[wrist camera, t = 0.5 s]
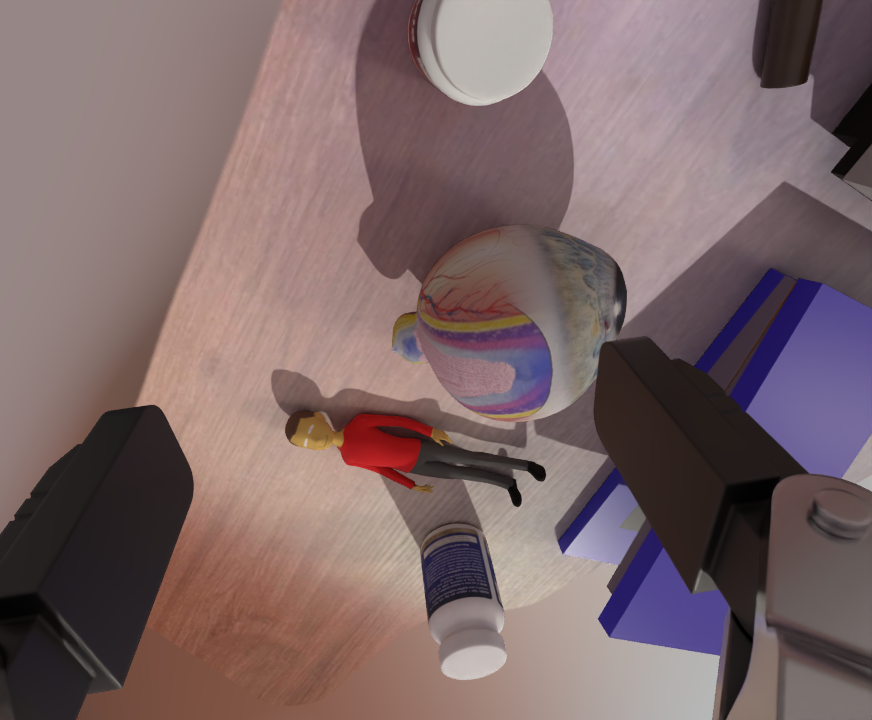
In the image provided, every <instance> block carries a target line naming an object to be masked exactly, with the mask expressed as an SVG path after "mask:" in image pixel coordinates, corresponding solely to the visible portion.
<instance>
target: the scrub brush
mask: <svg viewBox="0 0 872 720" xmlns="http://www.w3.org/2000/svg"><path fill="white" fill-rule="evenodd" d="M822 5H823V0H773V5H772V12H771V18H770V25H769V32H768V38H767V45H766V51H765V58H764V64H763V71H762V77H761V84H760V86H761V87H762V88H785V87H792V86H797V85H801V84H804V83H806V82H807V80H808V76H809V71H810V65H811V60H812V55H813V50H814V45H815V40H816V35H817V30H818V25H819V20H820V15H821V10H822Z"/></svg>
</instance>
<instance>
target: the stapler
mask: <svg viewBox="0 0 872 720" xmlns="http://www.w3.org/2000/svg"><path fill="white" fill-rule="evenodd" d="M694 367H696V368H698V369H700V370H702V371H704V372H705V373H707V374H708V375H709V376H710V377H711V378H712V379H713V380H714V381H715V382H716V383H717V384H718V385H719V386H720V387H721V388H722V389H723V390H724V391H725V392H726V396H731V397H732V398H733V399H734V400H735V401H736V402H737V403H738V404H739V405H740V406H741V407H742V411H743V412H747V413H748V414H749V415H750V416H751V417H752V418H753V419H754V420H755V421H756V422H757V423H758V424H759V425H760V426H761V427H762V428H763V429H764V430H765V431H766V432H767V433H768V434H769V435H771V436H772V437H773V438H774V439H775V440H776V441H777V442H778V443H779V444H780V445H781V446H782V447H783V448H784V449H785V450H786V451H787V452H788V453H789V454H790V455H791V456H792V457H793V458H794V459H795V460H796V461H797V462H798V463H799V464H800V465H801V466H802V467H803V468H804V469H805V470H806V471H807V472H808V473H809V474H821V475H828V476H833V477H837V478H840V479H841V478H842V477H843V475H844V474H845V472H846V471H847V469H848V468H849V466H850V465H851V463H852V462H853V461H854V459H855V458H856V456H857V455H858V453H859V452H860V450H861V449H862V447H863V446H864V444H865V443H866V441H867V440H868V438H869V437H870V435H871V434H872V309H871V308H870V307H868V306H866V305H864V304H862V303H860V302H858V301H856V300H854V299H852V298H850V297H848V296H846V295H844V294H842V293H841V292H839V291H837V290H835V289H833V288H831V287H829V286H827V285H825V284H823V283H819V282H814V281H809V280H804V279H800V278H799V279H798V280H796V279H794V278H791V277H789V276H787V275H785V274H783V273H781V272H778V271H776V270H774V269H772V268H770V270H769V271H768V272H767V274H766V275H765V276H764V277H763V279H762V280H761V281H760V283H759V284H758V285H757V286H756V288H755V289H754V290H753V292H752V293H751V294H750V295H749V297H748V298H747V299H746V301H745V302H744V303H743V304H742V306H741V307H740V308H739V310H738V311H737V312H736V313H735V315H734V316H733V317H732V319H731V320H730V321H729V322H728V324H727V325H726V326H725V328H724V329H723V330H722V331H721V333H720V334H719V335H718V337H717V338H716V339H715V340H714V342H713V343H712V344H711V346H710V347H709V348H708V349H707V351H706V352H705V353H704V355H703V356H702V357H701V358H700V360H699V361H698V362H697V364H696V365H695V366H694ZM558 544H559V546H560V549H561V551H562V554H563V555H569V556H574V557H579V558H584V559H590V560H595V561H600V562H605V563H611V564H616V565H619V566H618V568H617V569H616V571H615V573H614V575H613V576H612V578H611V580H610V581H609V583H608V585H607V587H608V589H609V590H610V592H611V593H612V596H611V598H610V600H609V601H608V603H607V604H606V606H605V608H604V610H603V611H602V613H601V615H600V616H599V618H598V620H599V622H600V623H601V625H602V626H603V628H604V630H605V631H606V633H607V634H608V636H609V637H610V638H616V639H622V640H628V641H634V642H640V643H646V644H652V645H659V646H665V647H671V648H677V649H683V650H689V651H695V652H701V653H707V654H714V655H719V656H720V652H721V644H722V636H723V628H724V619H725V615H726V611H727V608H728V606H729V605H728V603H727V602H726V600H725V598H724V597H723V595H722V594H721V592H720V591H719V590H714V591H708V592H702V593H696V594H691V593H690V591H689V590H688V588H687V586H686V584H685V583H684V581H683V579H682V578H681V576H680V574H679V573H678V571H677V569H676V568H675V566H674V564H673V562H672V561H671V559H670V557H669V556H668V554H667V552H666V551H665V549H664V547H663V545H662V544H661V542H660V540H659V539H658V537H657V535H656V534H655V532H654V530H653V529H652V527H651V525H650V523H649V522H648V520H647V518H646V517H645V515H644V513H643V512H642V510H641V508H640V506H639V505H638V503H637V501H636V500H635V498H634V496H633V495H632V493H631V491H630V490H629V488H628V486H627V484H626V483H625V481H624V479H623V478H622V476H621V474H620V473H619V471H618V469H617V467H616V468H615V469H614V470H613V472H612V473H611V474H610V475H609V477H608V478H607V479H606V481H605V482H604V483H603V484H602V486H601V487H600V488H599V490H598V491H597V492H596V493H595V495H594V496H593V497H592V499H591V500H590V501H589V503H588V504H587V505H586V506H585V508H584V509H583V510H582V512H581V513H580V514H579V515H578V517H577V518H576V519H575V521H574V522H573V523H572V524H571V526H570V527H569V528H568V530H567V531H566V532H565V533H564V535H563V536H562V537H561V539H560V540H559V541H558Z"/></svg>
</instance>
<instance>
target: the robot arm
mask: <svg viewBox="0 0 872 720" xmlns="http://www.w3.org/2000/svg"><path fill="white" fill-rule="evenodd" d="M594 420H595V426H596V430H597V433H598V436H599V438H600V440H601V442H602V444H603V445H604V447H605V449H606V450H607V452H608V454H609V456H610V457H611V459H612V461H613V462H614V464H615V466H616V467H617V469H618V471H619V473H620V474H621V476H622V478H623V479H624V481H625V483H626V484H627V486H628V488H629V490H630V491H631V493H632V495H633V496H634V498H635V500H636V501H637V503H638V505H639V506H640V508H641V510H642V512H643V513H644V515H645V517H646V518H647V520H648V522H649V523H650V525H651V527H652V529H653V530H654V532H655V534H656V535H657V537H658V539H659V540H660V542H661V544H662V545H663V547H664V549H665V551H666V552H667V554H668V556H669V557H670V559H671V561H672V562H673V564H674V566H675V568H676V569H677V571H678V573H679V574H680V576H681V578H682V579H683V581H684V583H685V584H686V586H687V588H688V590H689V591H690V593H691V594H696V593H702V592H708V591H714V590H719V591H720V592H721V594H722V595H723V597H724V598H725V600H726V602H727V603H728V605H729V606H728V608H727V611H726V615H725V619H724V628H723V636H722V644H721V652H720V661H719V669H718V678H717V685H716V694H715V702H714V710H713V718H712V720H872V492H871V491H869V490H867V489H865V488H863V487H861V486H859V485H857V484H854V483H852V482H849V481H847V480H844V479H840V478H837V477H833V476H828V475H821V474H809V473H808V472H807V471H806V470H805V469H804V468H803V467H802V466H801V465H800V464H799V463H798V462H797V461H796V460H795V459H794V458H793V457H792V456H791V455H790V454H789V453H788V452H787V451H786V450H785V449H784V448H783V447H782V446H781V445H780V444H779V443H778V442H777V441H776V440H775V439H774V438H773V437H772V436H771V435H769V434H768V433H767V432H766V431H765V430H764V429H763V428H762V427H761V426H760V425H759V424H758V423H757V422H756V421H755V420H754V419H753V418H752V417H751V416H750V415H749V414H748V413H747V412H743V411H742V407H741V406H740V405H739V404H738V403H737V402H736V401H735V400H734V399H733V398H732V397H731V396H726V392H725V391H724V390H723V389H722V388H721V387H720V386H719V385H718V384H717V383H716V382H715V381H714V380H713V379H712V378H711V377H710V376H709V375H708V374H707V373H705V372H704V371H702V370H700V369H698V368H696V367H694V366H692V365H690V364H688V363H686V362H684V361H682V360H681V359H673V360H670V359H669V358H668V357H667V356H666V354H665V353H664V352H663V351H662V350H661V349H660V348H659V347H658V346H657V345H656V344H655V343H654V342H653V341H652V340H651V339H650V338H648V337H646V336H643V337H635V338H628V339H621V340H614V341H607V342H604V343H603V344H602V346H601V348H600V352H599V361H598V371H597V381H596V390H595V400H594ZM193 491H194V483H193V475H192V471H191V468H190V466H189V464H188V462H187V459H186V457H185V455H184V453H183V451H182V449H181V447H180V445H179V443H178V441H177V439H176V437H175V435H174V433H173V431H172V429H171V427H170V425H169V423H168V421H167V419H166V417H165V415H164V413H163V411H162V410H161V409H160V408H159V407H157V406H156V405H147V406H140V407H133V408H127V409H119V410H112V411H108V412H105V413H104V414H103V415H102V416H101V417H100V419H99V420H98V422H97V423H96V425H95V426H94V427H93V429H92V430H91V432H90V433H89V434H88V436H87V437H86V439H85V440H84V442H83V443H82V444H78V445H76V446H75V447H74V448H73V449H71V450H70V451H69V452H68V453H67V454H65V455H64V456H63V457H62V458H61V459H59V460H58V461H57V462H56V463H55V464H53V465H52V466H51V467H50V468H49V469H48V470H47V471H46V473H45V474H44V476H43V477H42V478H41V480H40V481H39V482H38V484H37V485H36V486H35V488H34V489H33V491H32V492H31V493H30V494H31V498H30V499H26V500H25V501H24V503H23V504H22V506H21V507H20V508H19V510H18V511H17V512H16V514H15V515H14V516H15V520H14V521H10V522H9V523H8V525H7V526H6V528H5V529H4V530H3V532H2V533H1V534H0V720H80V719H79V718H78V717H77V716H78V714H79V711H80V709H81V706H82V704H83V701H84V699H85V697H86V695H87V694H92V693H98V692H104V691H110V690H116V689H121V688H122V687H123V684H124V681H125V679H126V676H127V673H128V671H129V668H130V666H131V663H132V660H133V657H134V655H135V652H136V650H137V647H138V644H139V642H140V639H141V636H142V633H143V631H144V628H145V625H146V623H147V620H148V617H149V615H150V612H151V609H152V607H153V604H154V601H155V599H156V596H157V593H158V591H159V588H160V585H161V583H162V580H163V577H164V574H165V572H166V569H167V566H168V564H169V561H170V558H171V556H172V553H173V550H174V548H175V545H176V542H177V540H178V537H179V534H180V532H181V529H182V526H183V523H184V521H185V518H186V515H187V513H188V510H189V507H190V505H191V502H192V498H193Z"/></svg>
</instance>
